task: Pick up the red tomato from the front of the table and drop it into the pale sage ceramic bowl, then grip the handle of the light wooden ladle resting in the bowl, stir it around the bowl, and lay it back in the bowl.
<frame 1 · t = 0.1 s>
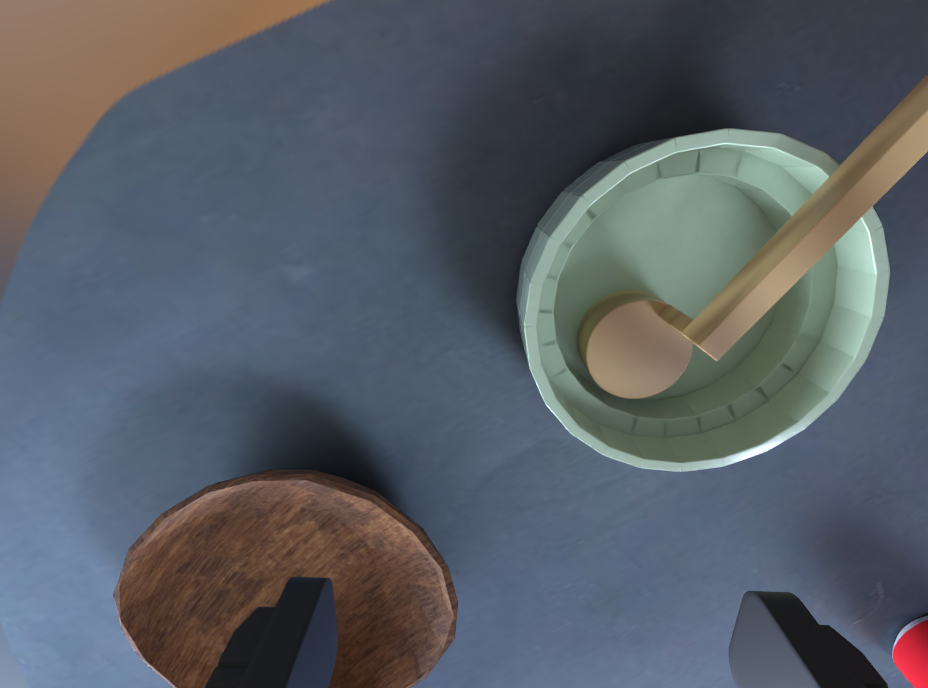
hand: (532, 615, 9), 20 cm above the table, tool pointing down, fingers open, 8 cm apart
ladle: (625, 336, 27), point 1 cm above the table, touching mixing bowl
mixing bowl: (658, 293, 27), on the table
beverage can: (926, 634, 35), on the table
bowl: (312, 554, 34), on the table
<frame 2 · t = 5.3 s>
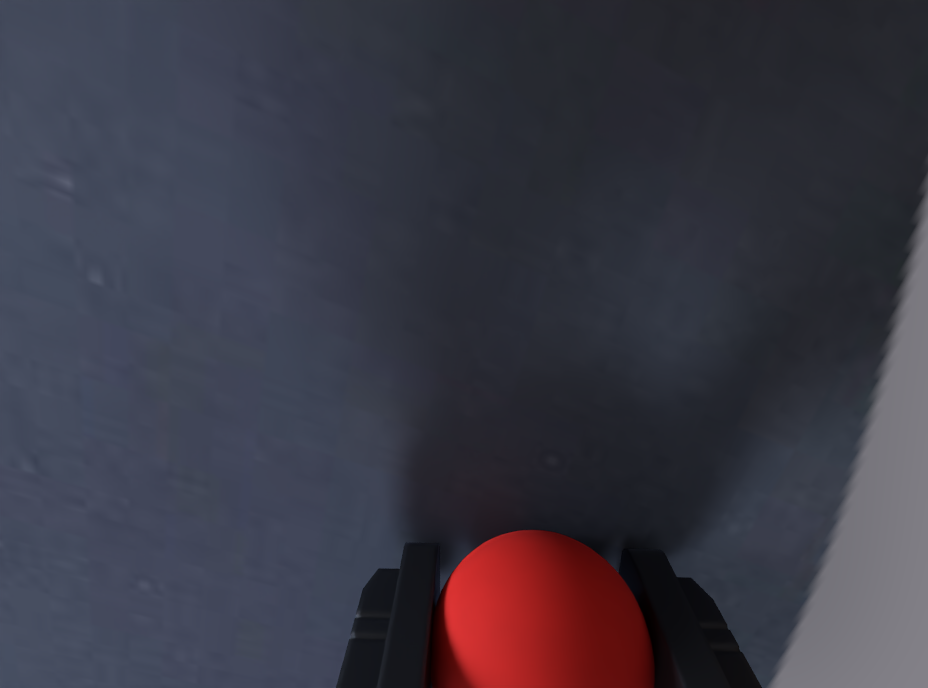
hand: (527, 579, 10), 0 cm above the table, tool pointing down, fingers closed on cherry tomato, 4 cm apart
cherry tomato: (537, 646, 9), point 2 cm above the table, touching gripper
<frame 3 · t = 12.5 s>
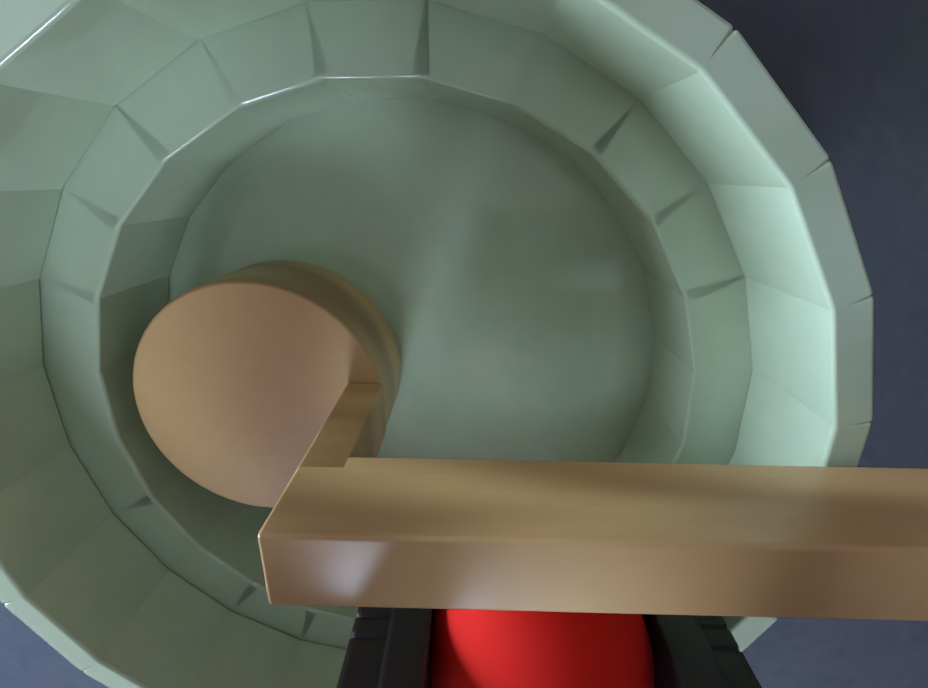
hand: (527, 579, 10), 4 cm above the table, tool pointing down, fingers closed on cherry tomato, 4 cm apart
ladle: (297, 364, 13), point 1 cm above the table, touching mixing bowl
mixing bowl: (411, 357, 13), on the table
cherry tomato: (537, 648, 9), point 6 cm above the table, touching gripper
when the fingers open (4 cm above the table, at t = 12.8 s): cherry tomato drops 3 cm and tips over, resting on mixing bowl.
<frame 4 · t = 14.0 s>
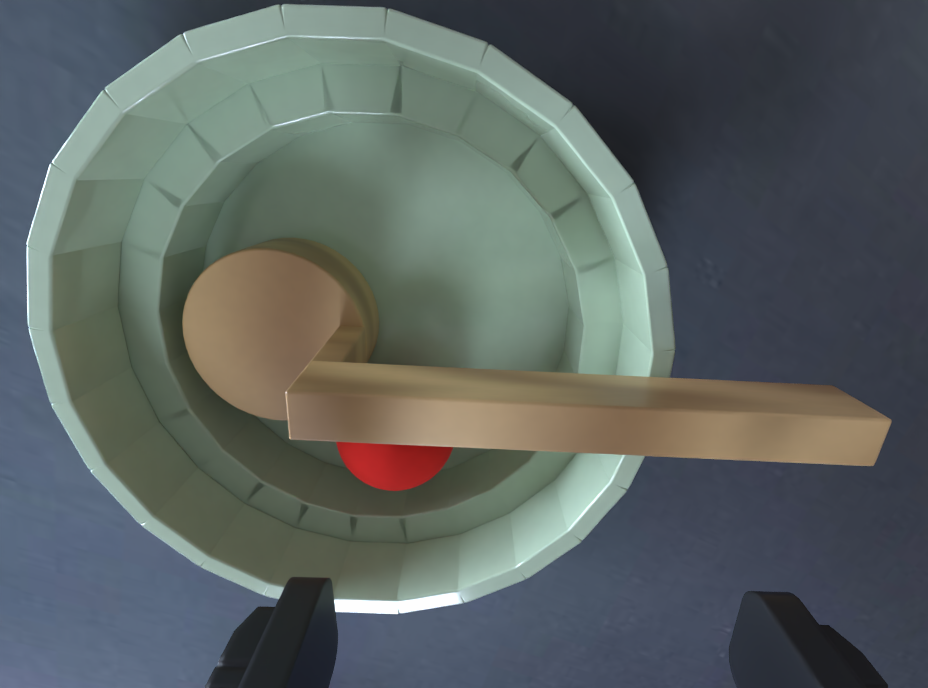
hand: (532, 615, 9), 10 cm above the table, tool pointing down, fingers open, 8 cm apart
ladle: (300, 317, 17), point 1 cm above the table, touching mixing bowl
mixing bowl: (388, 316, 17), on the table
cherry tomato: (396, 428, 16), point 3 cm above the table, tilted 62°, touching mixing bowl
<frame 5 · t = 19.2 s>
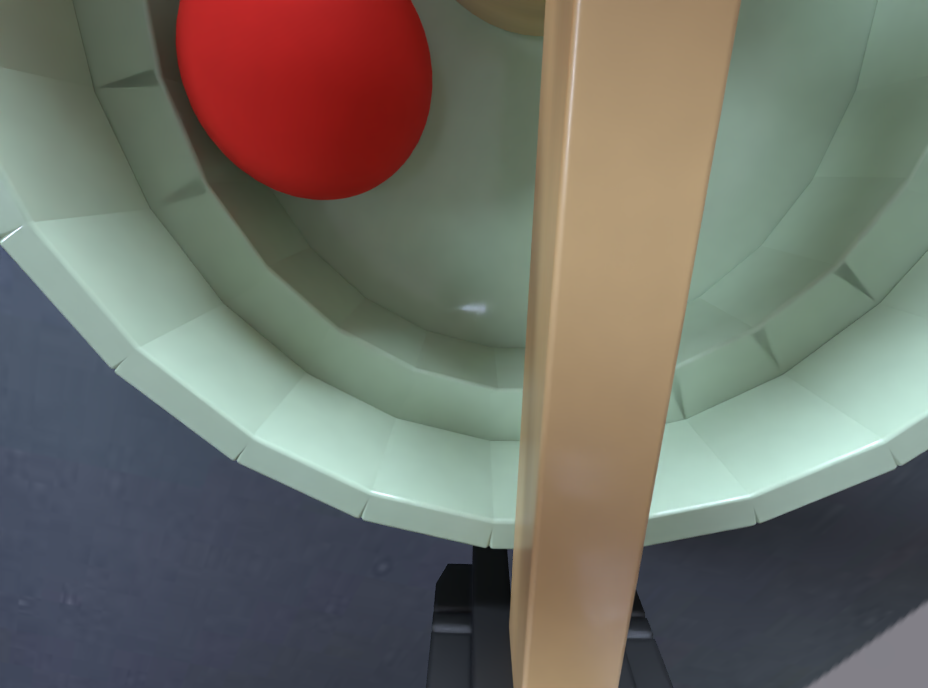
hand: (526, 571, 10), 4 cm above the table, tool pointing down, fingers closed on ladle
mixing bowl: (536, 55, 10), on the table
cherry tomato: (313, 76, 8), point 3 cm above the table, tilted 58°, touching mixing bowl
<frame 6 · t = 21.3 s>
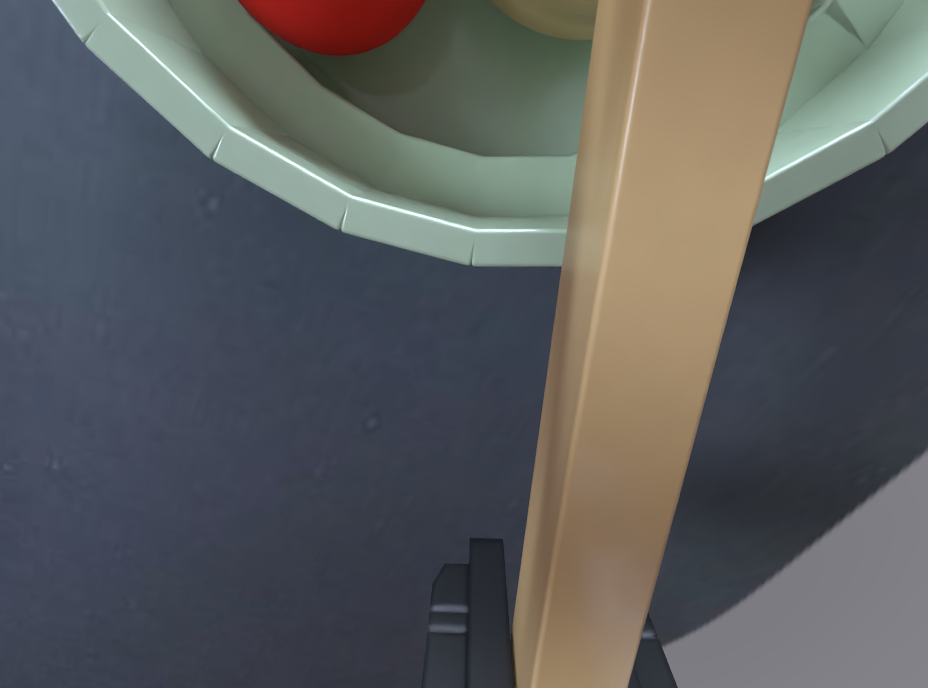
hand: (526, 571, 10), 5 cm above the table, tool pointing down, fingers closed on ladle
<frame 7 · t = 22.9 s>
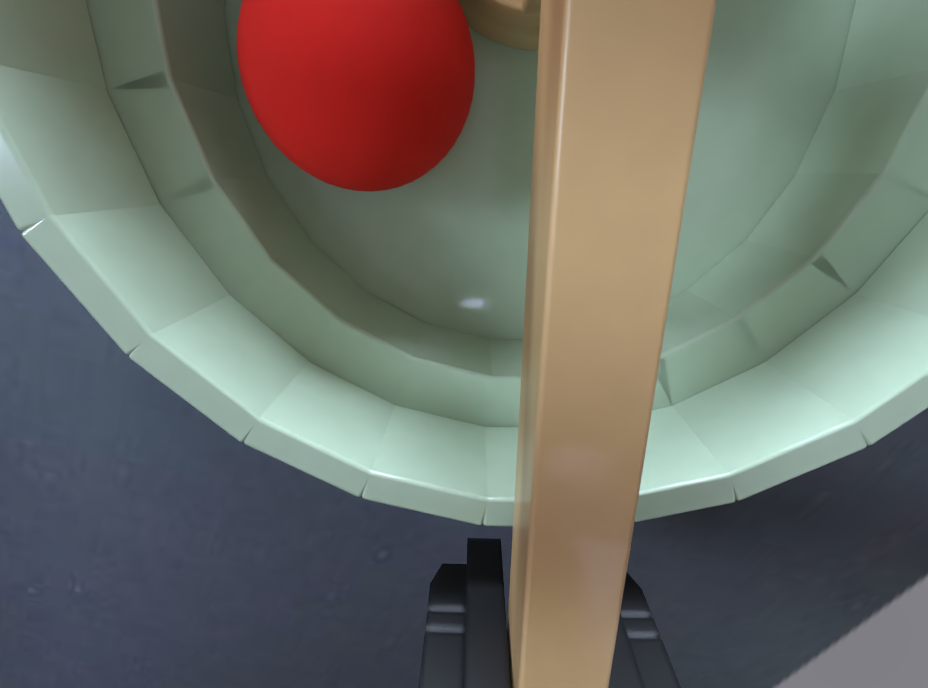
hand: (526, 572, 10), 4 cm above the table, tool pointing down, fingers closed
mixing bowl: (529, 57, 10), on the table
cherry tomato: (362, 72, 8), point 3 cm above the table, tilted 102°, touching mixing bowl
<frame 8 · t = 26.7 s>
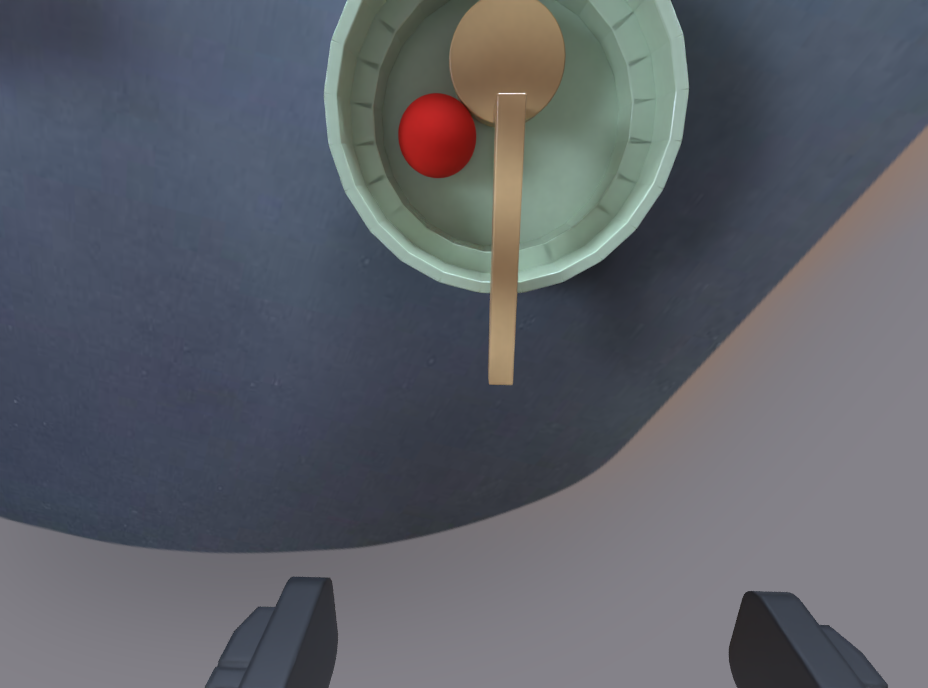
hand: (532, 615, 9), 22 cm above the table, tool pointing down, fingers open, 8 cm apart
ladle: (504, 70, 25), point 1 cm above the table, touching mixing bowl
mixing bowl: (498, 128, 27), on the table
cherry tomato: (437, 137, 24), point 3 cm above the table, tilted 104°, touching mixing bowl
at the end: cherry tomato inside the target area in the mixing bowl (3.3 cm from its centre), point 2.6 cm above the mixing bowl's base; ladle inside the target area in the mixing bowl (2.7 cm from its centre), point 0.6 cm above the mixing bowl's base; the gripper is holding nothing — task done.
